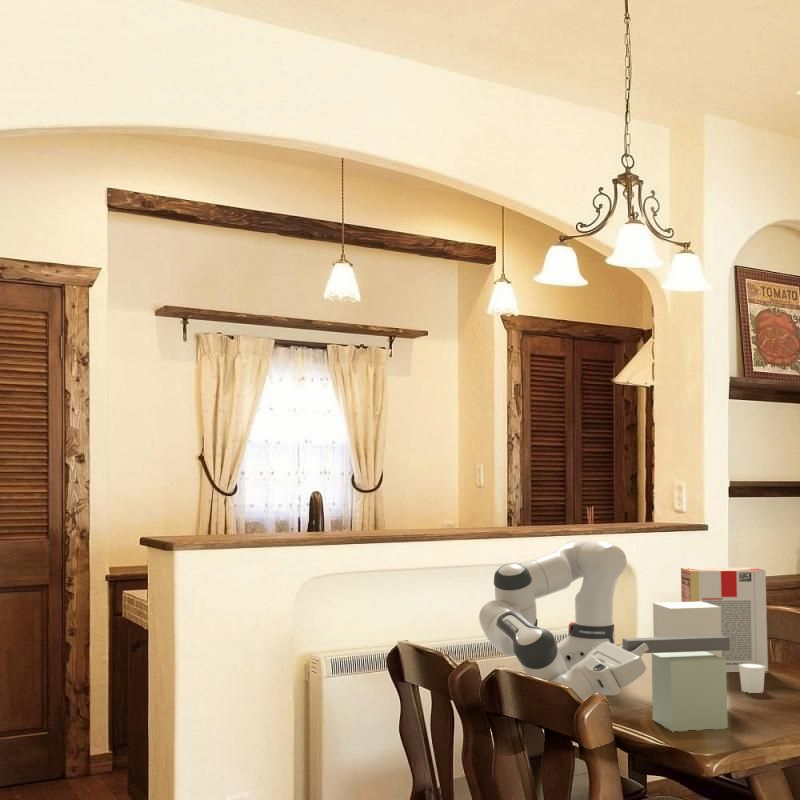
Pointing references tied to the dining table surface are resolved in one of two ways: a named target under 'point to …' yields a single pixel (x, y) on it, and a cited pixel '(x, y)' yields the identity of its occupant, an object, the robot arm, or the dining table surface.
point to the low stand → (689, 690)
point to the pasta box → (733, 609)
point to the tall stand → (687, 620)
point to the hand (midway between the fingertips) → (642, 643)
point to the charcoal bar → (679, 644)
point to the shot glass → (752, 677)
